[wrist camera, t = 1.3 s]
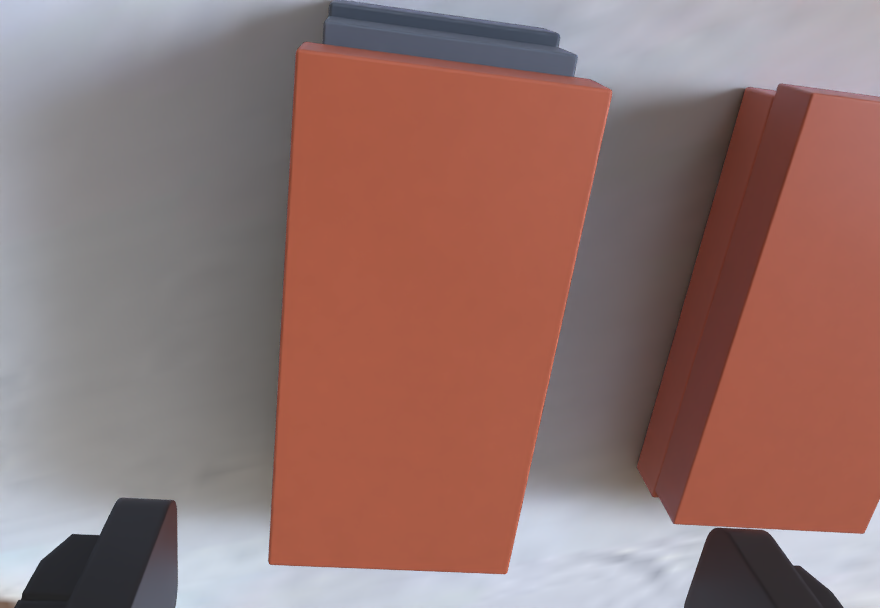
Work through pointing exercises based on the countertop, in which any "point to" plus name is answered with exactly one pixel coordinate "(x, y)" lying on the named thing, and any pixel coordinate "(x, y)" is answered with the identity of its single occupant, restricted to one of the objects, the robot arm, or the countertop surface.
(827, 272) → the orange-red flat block
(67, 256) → the countertop surface
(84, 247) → the countertop surface
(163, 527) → the robot arm
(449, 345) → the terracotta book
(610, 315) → the countertop surface
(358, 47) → the grey rectangular block
